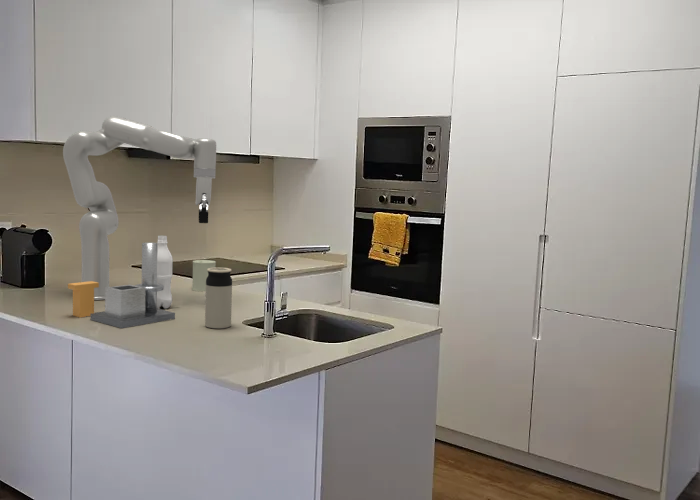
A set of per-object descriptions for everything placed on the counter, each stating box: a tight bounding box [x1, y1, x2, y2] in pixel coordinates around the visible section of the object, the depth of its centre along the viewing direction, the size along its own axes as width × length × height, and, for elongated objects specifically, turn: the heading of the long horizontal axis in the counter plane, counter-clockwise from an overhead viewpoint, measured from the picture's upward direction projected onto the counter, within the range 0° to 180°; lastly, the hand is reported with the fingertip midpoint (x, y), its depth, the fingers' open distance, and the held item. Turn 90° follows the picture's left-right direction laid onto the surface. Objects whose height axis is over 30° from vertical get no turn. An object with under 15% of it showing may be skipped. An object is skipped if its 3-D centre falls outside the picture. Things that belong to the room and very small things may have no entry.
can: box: [191, 259, 217, 292], centre depth 276 cm, size 9×9×12 cm
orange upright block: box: [67, 281, 99, 318], centre depth 221 cm, size 4×8×10 cm, turn 143°
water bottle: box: [156, 235, 173, 310], centre depth 237 cm, size 7×7×25 cm
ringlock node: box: [90, 241, 176, 329], centre depth 218 cm, size 16×20×24 cm
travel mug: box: [204, 267, 233, 330], centre depth 213 cm, size 8×8×18 cm
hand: (203, 221), depth 246 cm, fingers open, 9 cm apart
